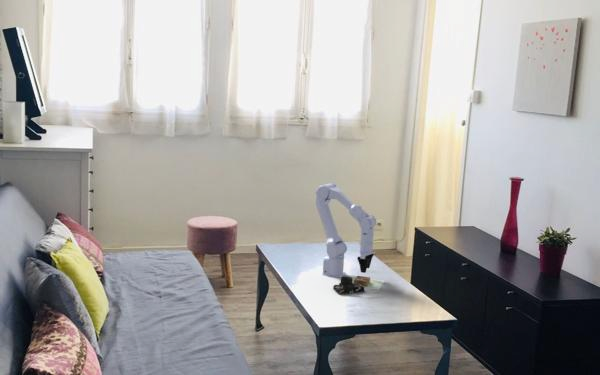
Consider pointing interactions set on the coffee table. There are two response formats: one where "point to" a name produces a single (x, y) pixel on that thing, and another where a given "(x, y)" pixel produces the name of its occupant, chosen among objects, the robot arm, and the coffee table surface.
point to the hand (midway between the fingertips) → (365, 270)
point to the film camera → (348, 286)
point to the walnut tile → (362, 280)
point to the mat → (371, 283)
